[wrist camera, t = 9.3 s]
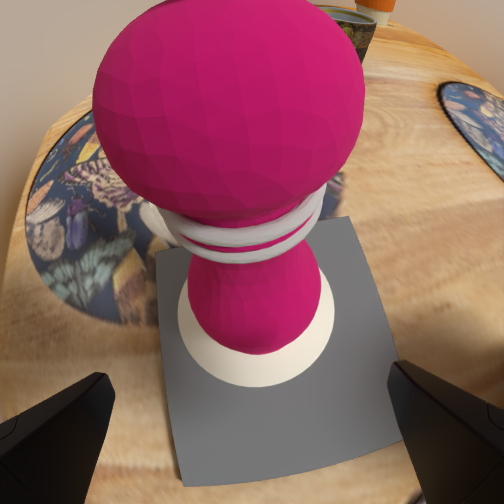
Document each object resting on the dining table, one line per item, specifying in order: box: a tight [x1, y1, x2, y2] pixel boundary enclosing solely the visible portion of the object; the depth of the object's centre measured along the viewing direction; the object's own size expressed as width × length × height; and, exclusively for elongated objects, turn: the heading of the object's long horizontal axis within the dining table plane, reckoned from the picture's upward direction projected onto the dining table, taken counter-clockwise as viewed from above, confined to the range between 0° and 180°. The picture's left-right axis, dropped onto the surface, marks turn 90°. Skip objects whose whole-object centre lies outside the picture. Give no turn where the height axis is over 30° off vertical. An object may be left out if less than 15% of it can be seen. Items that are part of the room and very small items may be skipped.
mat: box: [155, 216, 403, 487], centre depth 19 cm, size 18×16×1 cm
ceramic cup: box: [318, 7, 377, 65], centre depth 33 cm, size 13×10×10 cm
